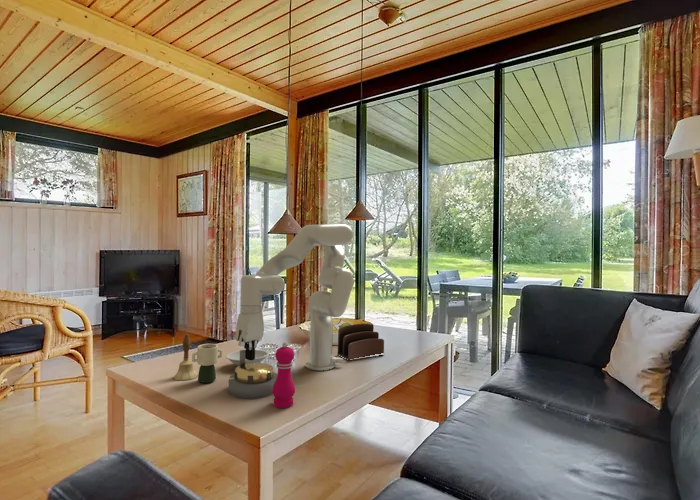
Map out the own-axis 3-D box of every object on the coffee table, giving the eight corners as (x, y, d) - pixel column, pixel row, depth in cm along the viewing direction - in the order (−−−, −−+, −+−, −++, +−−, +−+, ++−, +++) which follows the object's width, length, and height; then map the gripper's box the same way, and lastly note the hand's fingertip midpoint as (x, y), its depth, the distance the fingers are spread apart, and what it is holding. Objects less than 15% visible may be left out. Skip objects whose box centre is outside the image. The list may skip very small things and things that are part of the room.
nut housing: (280, 380, 146) (280, 369, 146) (276, 398, 130) (276, 385, 129) (233, 380, 145) (234, 369, 145) (223, 398, 128) (223, 386, 128)
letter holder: (337, 355, 181) (337, 325, 181) (371, 350, 192) (372, 322, 191) (348, 361, 173) (349, 329, 172) (384, 355, 183) (385, 325, 183)
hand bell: (173, 374, 149) (174, 332, 149) (197, 372, 153) (198, 331, 152) (173, 381, 142) (174, 338, 142) (197, 379, 145) (198, 336, 145)
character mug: (218, 375, 149) (219, 341, 149) (225, 381, 144) (225, 346, 144) (188, 381, 143) (189, 345, 142) (194, 387, 137) (195, 350, 137)
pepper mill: (267, 406, 123) (269, 343, 123) (279, 398, 130) (281, 338, 129) (287, 410, 120) (289, 346, 120) (298, 402, 127) (300, 340, 127)
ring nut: (280, 375, 140) (281, 351, 140) (256, 386, 128) (257, 360, 128) (252, 368, 146) (252, 346, 146) (226, 379, 134) (227, 354, 134)
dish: (230, 375, 151) (230, 362, 151) (221, 364, 163) (221, 352, 163) (274, 368, 160) (274, 356, 160) (262, 359, 172) (262, 347, 172)
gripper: (258, 305, 150) (257, 352, 151) (227, 310, 137) (227, 362, 138) (272, 307, 147) (271, 356, 147) (243, 313, 134) (242, 366, 134)
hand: (250, 359), depth 142 cm, fingers closed
